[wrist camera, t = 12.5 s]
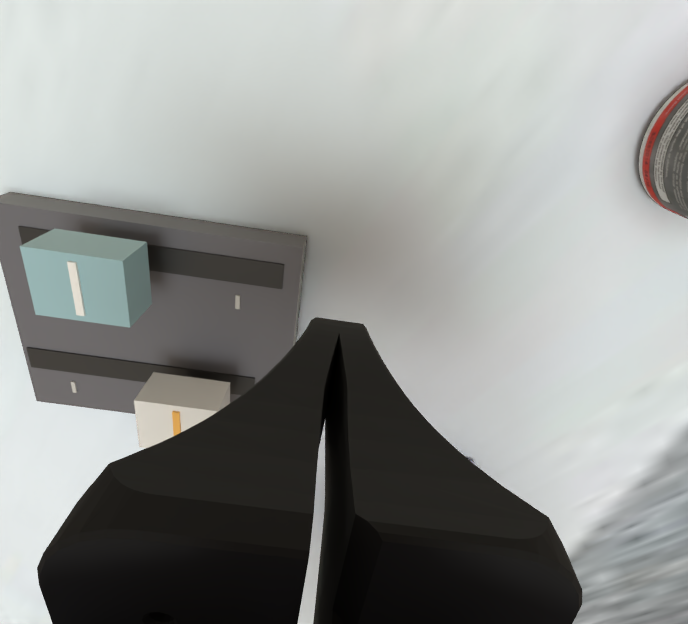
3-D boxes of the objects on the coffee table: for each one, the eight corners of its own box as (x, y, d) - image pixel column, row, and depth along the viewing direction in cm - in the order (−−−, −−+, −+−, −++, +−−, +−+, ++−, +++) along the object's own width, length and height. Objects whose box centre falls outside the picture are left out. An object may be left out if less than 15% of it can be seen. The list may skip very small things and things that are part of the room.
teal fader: (163, 291, 20) (128, 328, 17) (82, 279, 19) (33, 315, 17) (159, 232, 18) (121, 262, 15) (72, 219, 18) (17, 247, 15)
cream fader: (235, 410, 23) (217, 458, 20) (166, 400, 23) (138, 448, 20) (236, 367, 21) (217, 412, 19) (163, 357, 21) (133, 401, 18)
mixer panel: (287, 414, 25) (283, 434, 24) (54, 383, 25) (35, 402, 23) (306, 236, 20) (302, 248, 19) (10, 192, 20) (-18, 201, 18)
